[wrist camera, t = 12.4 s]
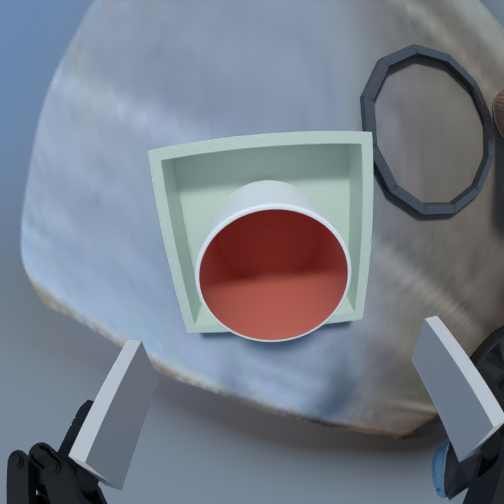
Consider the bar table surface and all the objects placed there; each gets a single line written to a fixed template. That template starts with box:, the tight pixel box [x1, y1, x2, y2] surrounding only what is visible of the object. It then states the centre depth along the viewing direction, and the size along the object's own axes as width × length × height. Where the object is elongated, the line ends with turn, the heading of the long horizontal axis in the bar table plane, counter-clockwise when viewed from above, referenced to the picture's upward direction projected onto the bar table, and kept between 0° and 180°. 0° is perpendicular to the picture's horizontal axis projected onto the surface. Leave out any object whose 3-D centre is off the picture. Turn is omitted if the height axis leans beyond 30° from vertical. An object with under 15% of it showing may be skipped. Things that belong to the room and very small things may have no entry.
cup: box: [195, 180, 352, 342], centre depth 22 cm, size 10×10×10 cm
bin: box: [148, 131, 373, 333], centre depth 25 cm, size 18×18×4 cm
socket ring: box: [360, 44, 493, 214], centre depth 21 cm, size 18×18×1 cm
